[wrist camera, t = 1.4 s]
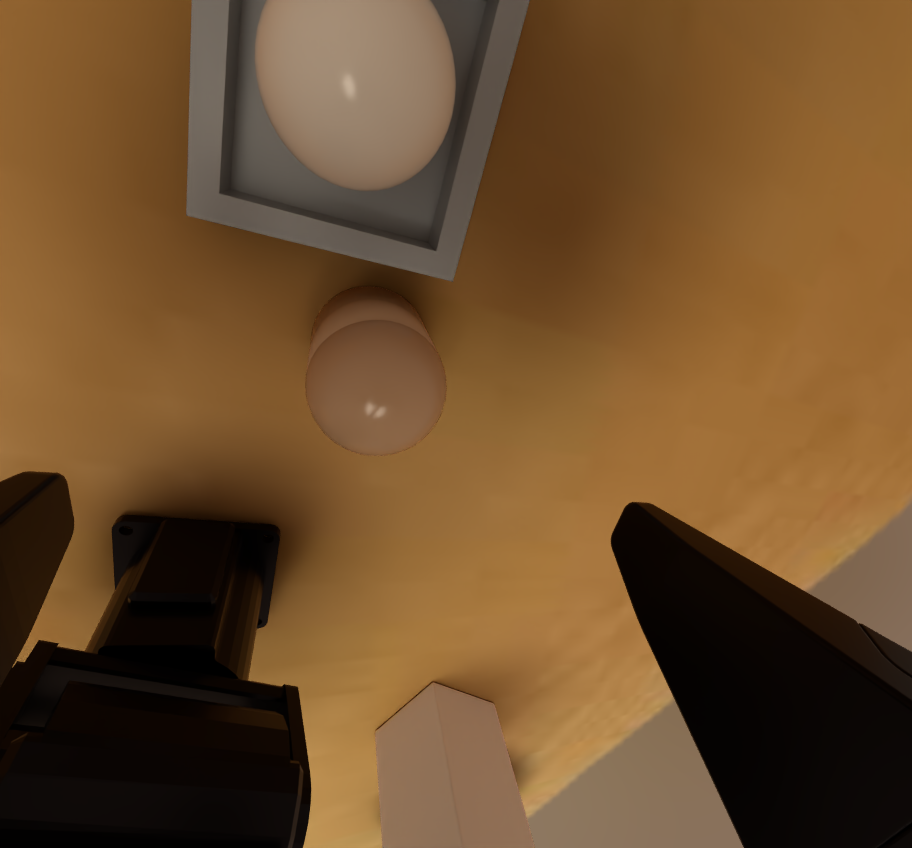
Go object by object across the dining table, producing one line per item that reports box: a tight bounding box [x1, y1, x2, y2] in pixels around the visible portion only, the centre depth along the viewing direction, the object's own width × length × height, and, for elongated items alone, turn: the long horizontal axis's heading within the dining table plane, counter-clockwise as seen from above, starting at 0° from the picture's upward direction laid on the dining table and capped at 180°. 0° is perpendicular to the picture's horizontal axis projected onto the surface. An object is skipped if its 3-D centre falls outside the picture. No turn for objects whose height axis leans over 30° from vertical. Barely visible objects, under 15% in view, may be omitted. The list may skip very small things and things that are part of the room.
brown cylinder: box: [305, 286, 447, 456], centre depth 16 cm, size 4×4×6 cm
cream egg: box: [255, 0, 456, 191], centre depth 12 cm, size 4×4×6 cm
